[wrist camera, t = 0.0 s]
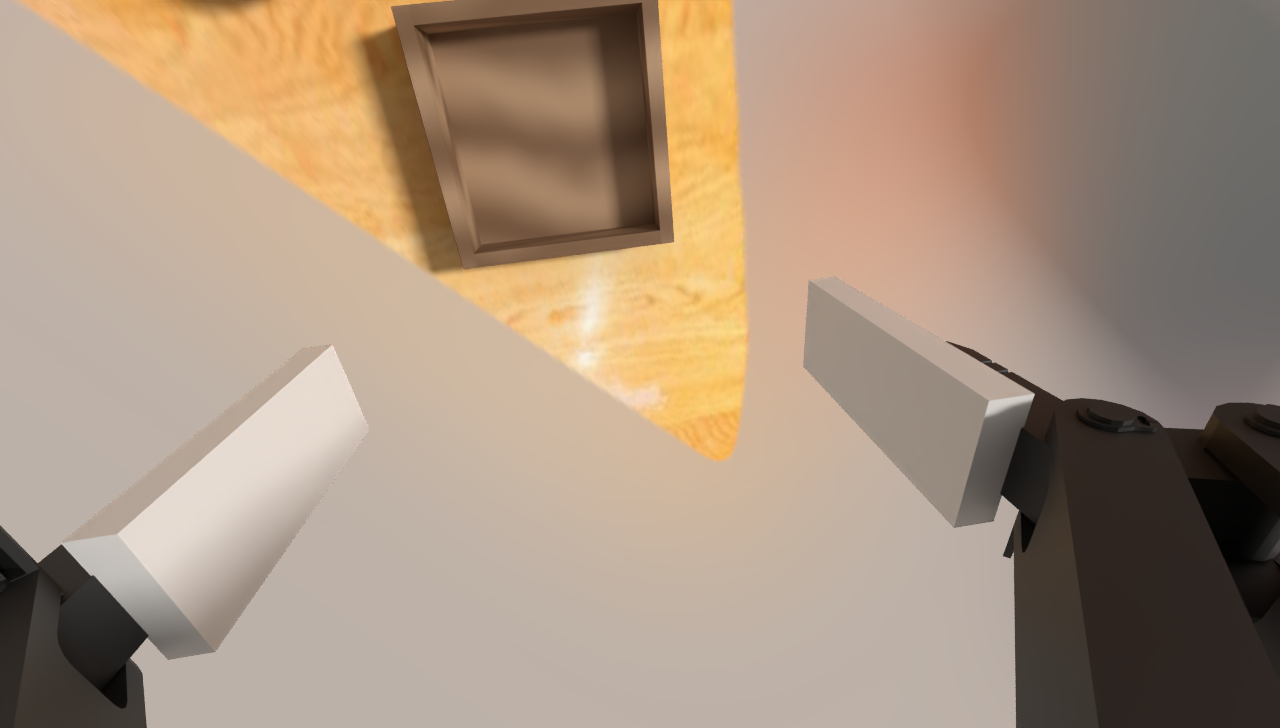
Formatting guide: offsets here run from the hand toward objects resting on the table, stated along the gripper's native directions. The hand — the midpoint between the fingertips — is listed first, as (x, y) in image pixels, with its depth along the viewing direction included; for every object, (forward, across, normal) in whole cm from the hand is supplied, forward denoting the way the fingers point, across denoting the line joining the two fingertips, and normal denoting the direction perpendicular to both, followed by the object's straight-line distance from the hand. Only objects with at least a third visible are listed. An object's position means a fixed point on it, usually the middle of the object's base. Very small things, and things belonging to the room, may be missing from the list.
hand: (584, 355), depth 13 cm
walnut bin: (+28, -1, +5) cm, 29 cm away
